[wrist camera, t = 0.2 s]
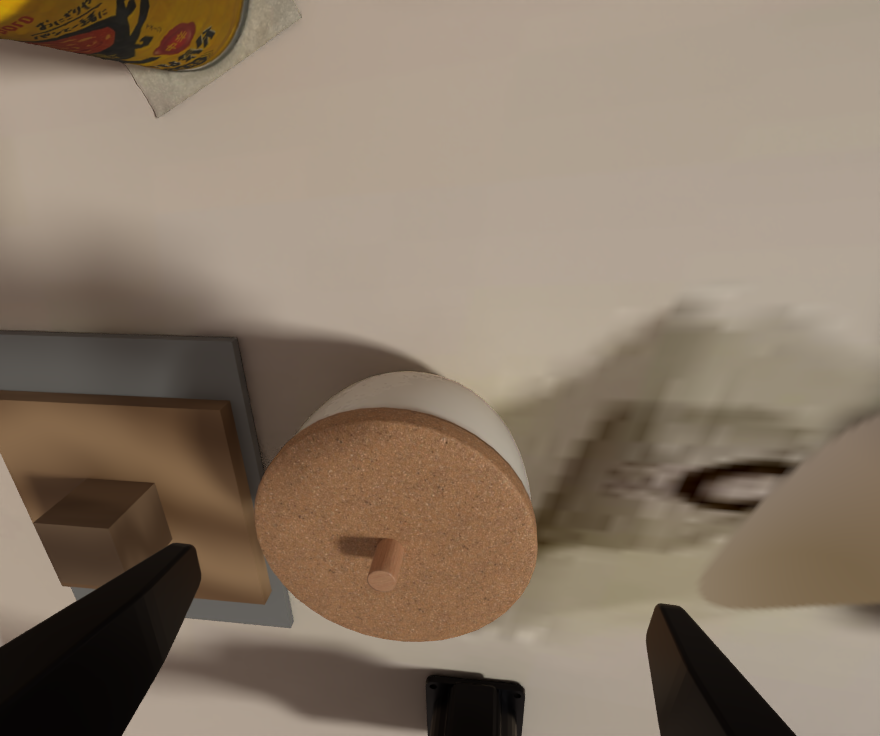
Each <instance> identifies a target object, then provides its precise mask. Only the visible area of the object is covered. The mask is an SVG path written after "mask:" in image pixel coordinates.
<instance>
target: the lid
mask: <svg viewBox="0 0 880 736" xmlns="http://www.w3.org/2000/svg"><path fill="white" fill-rule="evenodd" d="M0 453H1V455H2V457H3V459H4V462H5V464H6V466H7V468H8V470H9V472H10V475H11V477H12V479H13V481H14V483H15V485H16V487H17V490H18V492H19V494H20V496H21V498H22V500H23V503H24V505H25V507H26V509H27V511H28V513H29V515H30V518H31V520H32V522H33V524H34V526H35V529H36V531H37V533H38V535H39V537H40V539H41V541H42V544H43V546H44V548H45V550H46V552H47V554H48V557H49V559H50V561H51V563H52V565H53V567H54V569H55V572H56V574H57V576H58V578H59V580H60V582H61V584H62V586H68V587H78V588H89V589H97V588H99V587H100V586H102V585H104V584H105V583H107V582H109V581H110V580H112V579H114V578H115V577H117V576H118V575H120V574H122V573H123V572H125V571H127V570H128V569H130V568H132V567H133V566H135V565H137V564H138V563H140V562H142V561H143V560H145V559H146V558H148V557H150V556H151V555H153V554H155V553H156V552H158V551H160V550H161V549H163V548H165V547H166V546H168V545H170V544H172V543H184V544H191V545H193V546H194V547H195V548H196V551H197V556H198V560H199V565H200V569H201V582H200V586H199V588H198V590H197V592H196V595H195V597H194V598H197V599H207V600H218V601H229V602H240V603H250V604H261V605H265V604H266V602H267V600H268V598H269V596H270V594H271V592H272V590H271V585H270V581H269V576H268V572H267V567H266V562H265V558H264V554H263V552H262V549H261V546H260V544H259V541H258V539H257V533H256V527H255V521H254V508H253V503H252V499H251V494H250V489H249V485H248V480H247V476H246V471H245V467H244V462H243V458H242V453H241V448H240V444H239V439H238V435H237V430H236V426H235V421H234V417H233V412H232V407H231V403H230V401H228V400H206V399H184V398H161V397H139V396H117V395H95V394H73V393H51V392H28V391H6V390H0Z"/></svg>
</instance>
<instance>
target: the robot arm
mask: <svg viewBox="0 0 880 736" xmlns="http://www.w3.org/2000/svg"><path fill="white" fill-rule="evenodd" d="M200 582H201V569H200V565H199V560H198V556H197V551H196V548H195V547H194V546H193V545H191V544H184V543H172V544H170V545H168V546H166V547H165V548H163V549H161V550H160V551H158V552H156V553H155V554H153V555H151V556H150V557H148V558H146V559H145V560H143V561H142V562H140V563H138V564H137V565H135V566H133V567H132V568H130V569H128V570H127V571H125V572H123V573H122V574H120V575H118V576H117V577H115V578H114V579H112V580H110V581H109V582H107V583H105V584H104V585H102V586H100V587H99V588H97V589H95V590H94V591H92V592H90V593H89V594H87V595H86V596H84V597H82V598H81V599H79V600H77V601H76V602H74V603H72V604H71V605H69V606H67V607H66V608H64V609H62V610H61V611H59V612H58V613H56V614H54V615H53V616H51V617H49V618H48V619H46V620H44V621H43V622H41V623H39V624H38V625H36V626H35V627H33V628H31V629H30V630H28V631H26V632H25V633H23V634H21V635H20V636H18V637H16V638H15V639H13V640H11V641H10V642H8V643H7V644H5V645H3V646H2V647H0V736H122V734H123V733H124V731H125V729H126V727H127V726H128V724H129V722H130V720H131V719H132V717H133V715H134V714H135V712H136V710H137V708H138V707H139V705H140V703H141V702H142V700H143V698H144V696H145V695H146V693H147V691H148V689H149V688H150V686H151V684H152V683H153V681H154V679H155V677H156V676H157V674H158V672H159V670H160V668H161V667H162V665H163V663H164V661H165V659H166V657H167V655H168V653H169V651H170V649H171V647H172V644H173V642H174V640H175V638H176V636H177V634H178V631H179V629H180V627H181V625H182V623H183V621H184V618H185V616H186V614H187V612H188V610H189V608H190V605H191V603H192V601H193V599H194V597H195V595H196V592H197V590H198V588H199V586H200ZM646 646H647V653H648V659H649V666H650V672H651V679H652V685H653V691H654V698H655V704H656V711H657V717H658V723H659V729H660V735H661V736H796V735H795V733H794V732H793V731H792V730H791V729H790V728H789V727H788V726H787V724H786V723H785V722H784V721H783V720H782V719H781V718H780V717H779V715H778V714H777V713H776V712H775V711H774V710H773V709H772V708H771V707H770V705H769V704H768V703H767V702H766V701H765V700H764V699H763V698H762V696H761V695H760V694H759V693H758V692H757V691H756V690H755V689H754V687H753V686H752V685H751V684H750V683H749V682H748V681H747V680H746V678H745V677H744V676H743V675H742V674H741V673H740V672H739V671H738V670H737V668H736V667H735V666H734V665H733V664H732V663H731V662H730V661H729V659H728V658H727V657H726V656H725V655H724V654H723V653H722V652H721V650H720V649H719V648H718V647H717V646H716V645H715V644H714V643H713V641H712V640H711V639H710V638H709V637H708V636H707V635H706V634H705V632H704V631H703V630H702V629H701V628H700V627H699V626H698V625H697V624H696V622H695V621H694V620H693V619H692V618H691V617H690V616H689V615H688V613H687V612H686V611H685V610H684V609H683V608H681V607H680V606H677V605H669V604H657V605H656V607H655V609H654V612H653V615H652V618H651V621H650V624H649V627H648V630H647V635H646ZM524 702H525V689H524V688H523V687H522V686H520V685H515V684H505V683H496V682H486V681H477V680H467V679H458V678H449V677H439V676H430V677H428V678H427V681H426V703H427V726H428V736H521V735H522V724H523V713H524Z"/></svg>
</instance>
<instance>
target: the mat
mask: <svg viewBox="0 0 880 736" xmlns="http://www.w3.org/2000/svg"><path fill="white" fill-rule="evenodd" d="M0 390H6V391H28V392H51V393H73V394H95V395H117V396H139V397H161V398H184V399H206V400H228V401H230V403H231V407H232V412H233V417H234V421H235V426H236V430H237V435H238V439H239V444H240V448H241V453H242V458H243V462H244V467H245V471H246V476H247V480H248V485H249V489H250V494H251V499H252V503H253V508H254V505H255V498H256V494H257V490H258V486H259V483H260V481H261V479H262V477H263V475H264V471H263V466H262V461H261V456H260V451H259V446H258V441H257V436H256V431H255V426H254V421H253V416H252V411H251V406H250V401H249V396H248V391H247V386H246V381H245V376H244V371H243V366H242V361H241V356H240V351H239V346H238V341H237V338H226V337H192V336H159V335H126V334H93V333H60V332H27V331H0ZM264 558H265V556H264ZM265 562H266V567H267V572H268V576H269V581H270V585H271V590H272V592H271V594H270V596H269V598H268V600H267V602H266V604H265V605H261V604H250V603H240V602H229V601H218V600H207V599H197V598H194V599H193V601H192V603H191V605H190V608H189V610H188V612H187V614H186V616H185V618H192V619H202V620H212V621H223V622H233V623H243V624H253V625H263V626H274V627H284V628H291V626H292V624H293V622H294V620H293V616H292V611H291V606H290V601H289V596H288V591H287V588H286V587H285V586H284V585H283V584H282V582H281V581H280V580H279V579H278V577H277V576H276V575H275V573H274V572H273V571H272V569H271V568H270V566H269V564H268V562H267V560H266V558H265ZM71 589H72V591H73V593H74V596H75V598H76V600H79V599H81V598H82V597H84V596H86V595H87V594H89V593H90V592H92V591H94V590H95V589H89V588H78V587H71Z"/></svg>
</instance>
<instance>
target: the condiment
mask: <svg viewBox="0 0 880 736" xmlns="http://www.w3.org/2000/svg"><path fill="white" fill-rule="evenodd" d="M300 18H302V16H301V14H300V13H299V11H298V9H297V7H296V5H295V3H294V1H293V0H0V39H9V40H14V41H20V42H25V43H28V44H34V45H40V46H46V47H51V48H55V49H59V50H65V51H70V52H75V53H79V54H86V55H89V56H94V57H99V58H102V59H107V60H114V61H119V62H121V63H125V64H126V66H127V68H128V69H129V71H130V72H131V74H132V75H133V77H134V79H135V81H136V83H137V84H138V86H139V87H140V88H141V90H142V91H143V93H144V95H145V96H146V98H147V99H148V101H149V103H150V105H151V106H152V108H153V110H154V112H155V114H156V116H157V118H159V117H160V116H162V115H164V114H165V113H166V112H168V111H169V110H171V109H172V108H174V107H175V106H176V105H178V104H180V103H182V102H183V101H184V100H185V99H187V98H188V97H190V96H191V95H193V94H195V93H196V92H197V91H199V90H200V89H202V88H203V87H205V86H206V85H208V84H209V83H210V82H212V81H213V80H215V79H217V78H218V77H219V76H221V75H222V74H224V73H225V72H226V71H228V70H229V69H230V68H232V67H233V66H235V65H236V64H238V63H239V62H240V61H242V60H243V59H245V58H246V57H248V56H249V55H250V54H252V53H253V52H255V51H256V50H257V49H258V48H260V47H261V46H263V45H264V44H265V43H267V41H268V40H270V39H271V38H273V37H274V36H276V35H277V34H279V33H280V32H281V31H283V30H284V29H286V28H287V27H289V26H290V25H291V24H293V23H294V22H296V21H297V20H299V19H300Z"/></svg>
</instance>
